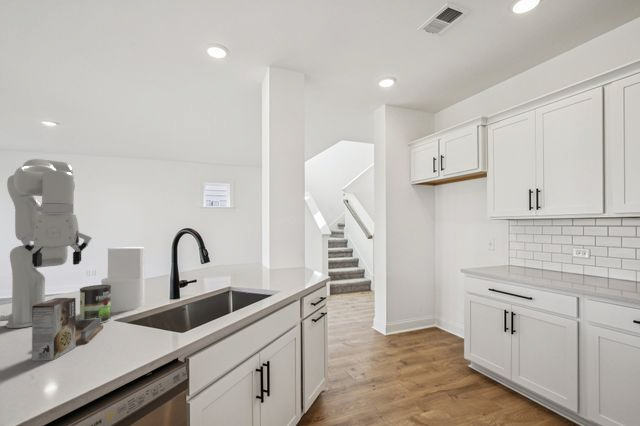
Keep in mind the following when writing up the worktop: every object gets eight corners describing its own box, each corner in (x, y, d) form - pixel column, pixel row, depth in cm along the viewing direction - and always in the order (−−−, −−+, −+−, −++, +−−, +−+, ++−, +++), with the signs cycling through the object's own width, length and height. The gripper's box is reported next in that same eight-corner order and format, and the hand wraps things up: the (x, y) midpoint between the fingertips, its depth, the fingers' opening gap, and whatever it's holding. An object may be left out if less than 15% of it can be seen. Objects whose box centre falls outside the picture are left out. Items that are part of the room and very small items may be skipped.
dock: (38, 349, 96) (38, 336, 96) (61, 332, 111) (61, 321, 111) (87, 343, 100) (87, 331, 100) (103, 327, 115) (103, 317, 115)
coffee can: (117, 318, 127) (117, 284, 127) (94, 326, 117) (94, 290, 117) (96, 317, 129) (97, 284, 129) (72, 325, 119) (72, 289, 119)
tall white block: (121, 301, 154) (122, 246, 155) (152, 302, 152) (152, 246, 152) (91, 311, 137) (92, 250, 138) (125, 312, 134) (126, 250, 135)
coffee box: (55, 348, 97) (55, 297, 97) (76, 347, 97) (76, 297, 98) (30, 361, 88) (31, 305, 88) (53, 360, 88) (54, 304, 89)
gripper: (15, 209, 88) (14, 268, 87) (86, 209, 94) (86, 264, 93) (29, 211, 95) (28, 265, 94) (95, 210, 101) (94, 262, 100)
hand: (57, 265), depth 94 cm, fingers open, 9 cm apart
